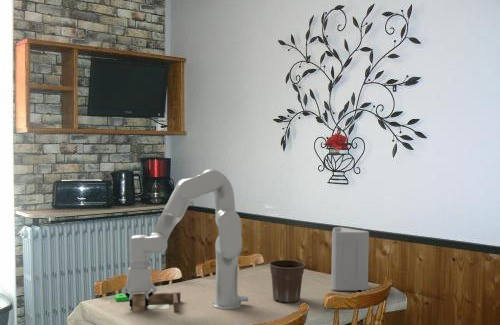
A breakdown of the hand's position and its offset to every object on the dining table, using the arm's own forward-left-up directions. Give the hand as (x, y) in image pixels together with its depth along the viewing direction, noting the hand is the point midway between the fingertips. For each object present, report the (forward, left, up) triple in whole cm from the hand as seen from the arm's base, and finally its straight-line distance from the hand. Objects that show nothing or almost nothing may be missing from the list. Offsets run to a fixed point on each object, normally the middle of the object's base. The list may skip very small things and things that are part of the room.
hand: (139, 307), depth 228 cm
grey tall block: (-98, -23, -1) cm, 100 cm away
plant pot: (-65, -6, -1) cm, 65 cm away
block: (0, 0, -1) cm, 1 cm away
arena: (-10, -1, -1) cm, 10 cm away
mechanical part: (+5, -16, -1) cm, 17 cm away
